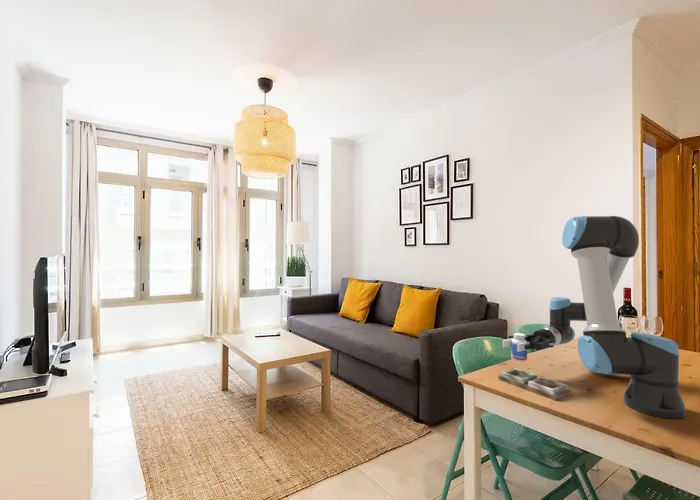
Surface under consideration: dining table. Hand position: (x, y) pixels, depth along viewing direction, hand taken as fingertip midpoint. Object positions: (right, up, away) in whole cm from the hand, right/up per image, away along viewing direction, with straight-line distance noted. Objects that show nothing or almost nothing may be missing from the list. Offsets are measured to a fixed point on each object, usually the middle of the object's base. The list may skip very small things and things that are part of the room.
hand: (510, 345), depth 133 cm
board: (+7, -14, -2) cm, 16 cm away
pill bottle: (+4, -6, +3) cm, 8 cm away
